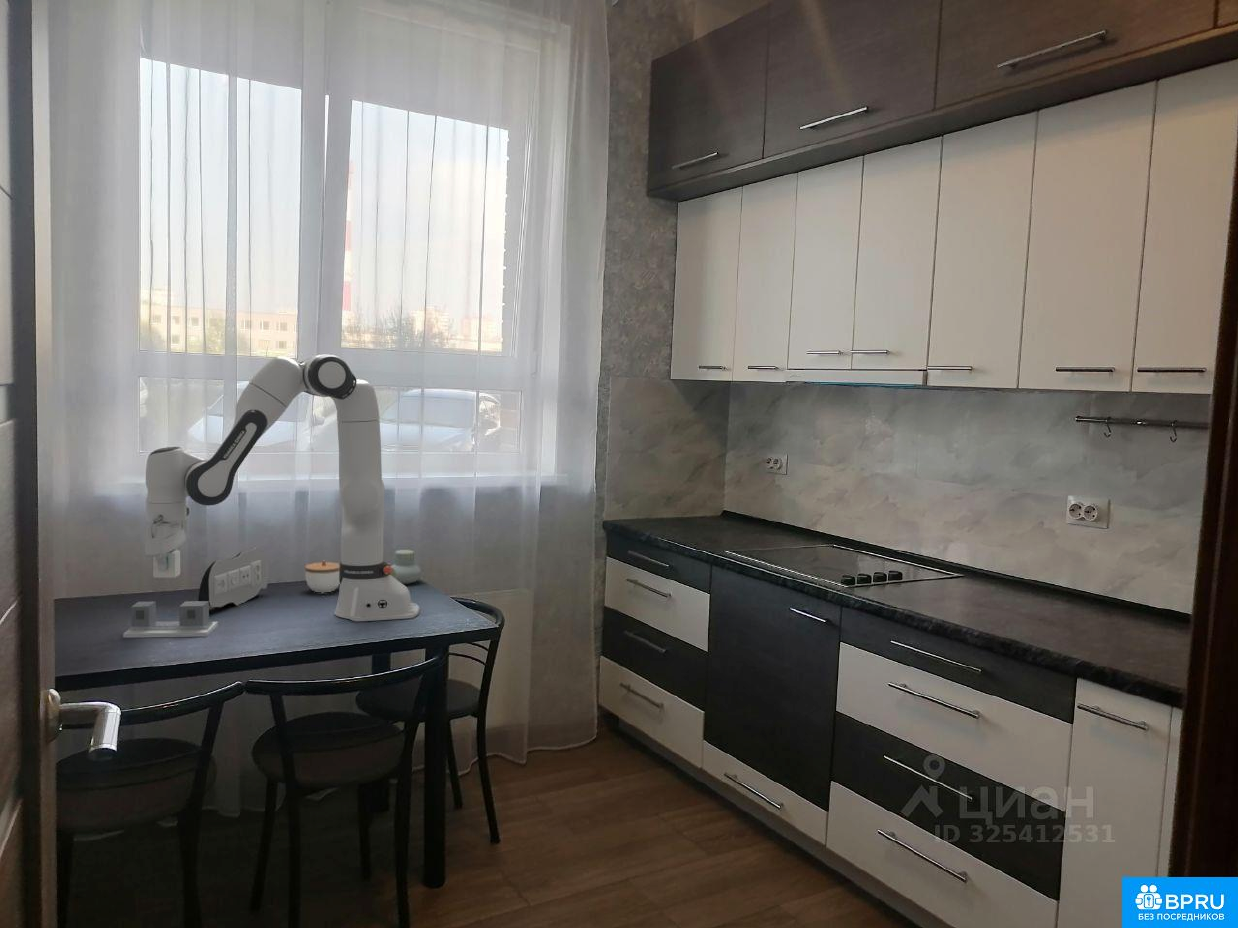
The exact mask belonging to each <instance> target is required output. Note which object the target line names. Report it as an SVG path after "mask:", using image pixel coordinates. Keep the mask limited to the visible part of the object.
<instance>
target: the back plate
mask: <svg viewBox="0 0 1238 928" xmlns="http://www.w3.org/2000/svg"><path fill="white" fill-rule="evenodd" d="M218 626H219V621H213V625H212V626H211V627H210V628H209V629H187V630H130V628H129V629H128V630H126V631H125V632H123V635H122V637H123V639H124V638H125V639H127V638H128V639H131V638H140V639H141V638H187V637H188V638H189V637H190V638H191V637H192V638H193V637H194V638H195V637H201V638H202V637H204V638H205V637H208V636H209V635H210V634H211V633H212V632H213V631H214V630H215V629H216V628H217V627H218Z"/></svg>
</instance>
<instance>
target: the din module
mask: <svg viewBox="0 0 1238 928" xmlns="http://www.w3.org/2000/svg"><path fill="white" fill-rule="evenodd" d="M152 559H153V561H152V569H153V573H152V575H153V576H152V577H153V579H154V578H158V579H159V578H160V579H161V578H165V579H166V578H176V577H178V576H179V575H181V550H178V549H177V550H172V551H170V552H168V553H167V557H166V562H167V563H168V569H167V570H166V571H158V564H157V561H156V557H152Z"/></svg>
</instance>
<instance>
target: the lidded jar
mask: <svg viewBox="0 0 1238 928" xmlns="http://www.w3.org/2000/svg"><path fill="white" fill-rule="evenodd" d="M339 565H340V563H338V562H331V561H329V562H328V561H326V559H323V560H322V561H321V562H314V563H309V564H306V565H305V566H304V570H305V580H306V584H307V586H308V587H309V588H310V589H311V590H312V591H315V592H321V593H320V594H325V593H324V592H331V591H334V592H335V590H336V589H337V588H338V587H340V582H339ZM315 592H314V593H315ZM331 593H332V592H331Z"/></svg>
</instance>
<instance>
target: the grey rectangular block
mask: <svg viewBox="0 0 1238 928" xmlns="http://www.w3.org/2000/svg"><path fill="white" fill-rule="evenodd" d="M213 622H214V621H212V620H209V621H208V622H207V623H206V624H205V625H204V626H180V623H179V620H178V621H177V620H176V621H156V622H154V623H153V624H152V625H150V626H149V627H131V625H130V626H129V629H130V630H187V629H209V628H210V627H211V626H212V625H213Z"/></svg>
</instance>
